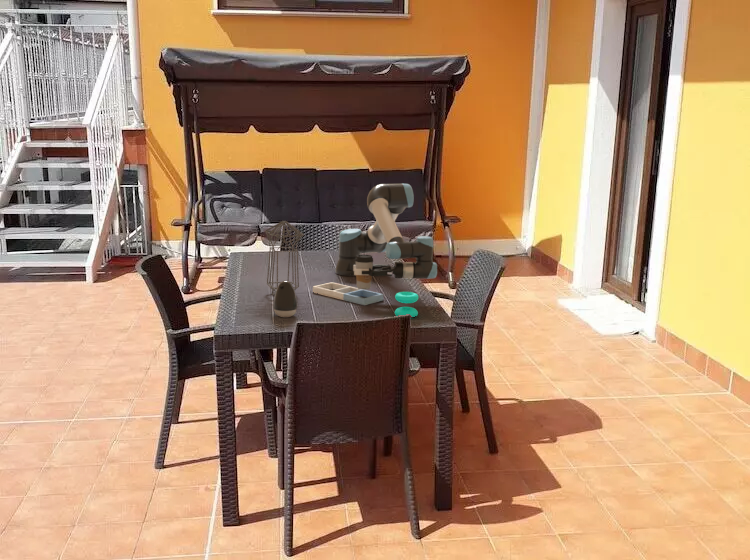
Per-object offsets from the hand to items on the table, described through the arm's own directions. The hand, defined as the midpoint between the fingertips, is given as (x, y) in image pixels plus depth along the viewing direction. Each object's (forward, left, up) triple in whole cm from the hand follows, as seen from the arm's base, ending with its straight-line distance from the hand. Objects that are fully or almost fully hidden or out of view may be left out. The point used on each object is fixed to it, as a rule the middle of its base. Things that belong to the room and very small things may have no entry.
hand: (353, 269), depth 351 cm
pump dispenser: (+41, -2, -15) cm, 43 cm away
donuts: (+4, +34, -15) cm, 37 cm away
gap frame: (-3, -7, -14) cm, 16 cm away
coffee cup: (-3, +3, -9) cm, 10 cm away
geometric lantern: (+16, -30, -15) cm, 37 cm away
